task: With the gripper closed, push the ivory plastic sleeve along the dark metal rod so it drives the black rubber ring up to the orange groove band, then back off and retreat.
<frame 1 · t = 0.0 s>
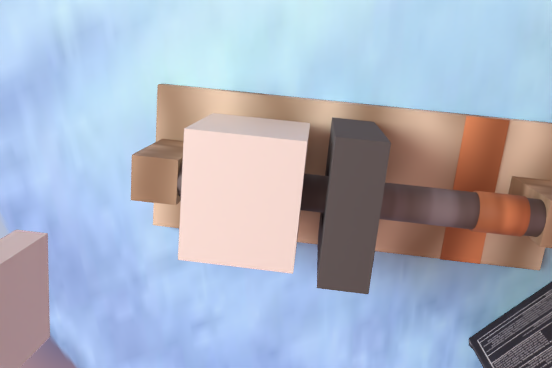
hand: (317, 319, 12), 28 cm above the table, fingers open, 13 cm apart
sleeve: (249, 185, 34), point 6 cm above the table, slide at 0.0 cm
ring: (348, 196, 33), point 6 cm above the table, slide at 0.0 cm
rail: (350, 175, 39), on the table
small box: (542, 328, 41), on the table
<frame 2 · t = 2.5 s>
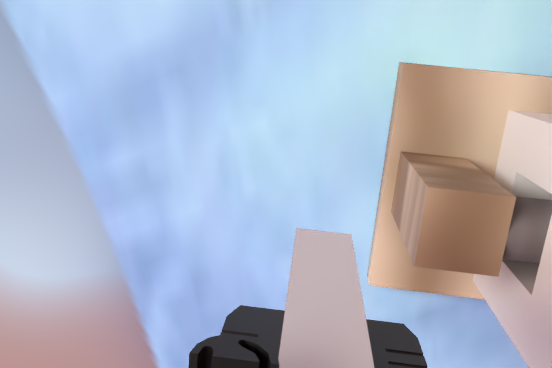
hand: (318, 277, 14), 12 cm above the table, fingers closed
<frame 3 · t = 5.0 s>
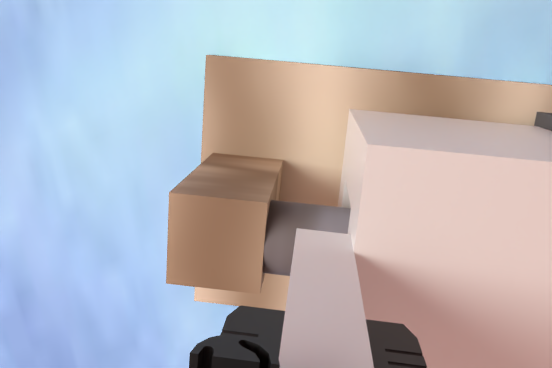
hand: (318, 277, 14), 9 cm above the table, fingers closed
sleeve: (450, 256, 16), point 6 cm above the table, slide at 1.4 cm, touching gripper
rail: (543, 213, 22), on the table
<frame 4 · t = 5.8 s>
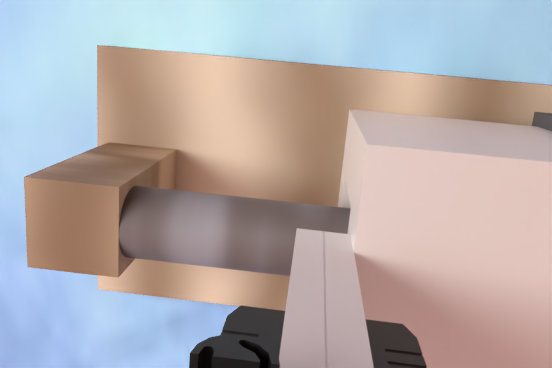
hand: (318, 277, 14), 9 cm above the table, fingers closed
sleeve: (449, 256, 16), point 7 cm above the table, slide at 6.0 cm, touching gripper, ring
rail: (437, 203, 23), on the table
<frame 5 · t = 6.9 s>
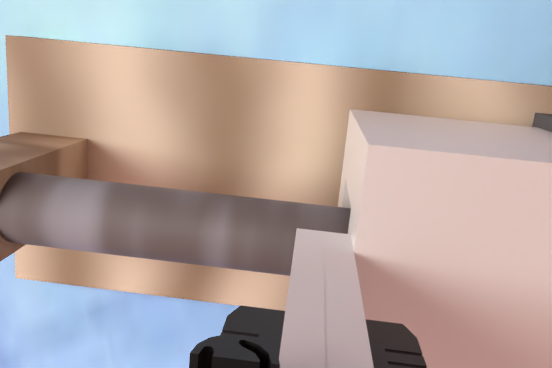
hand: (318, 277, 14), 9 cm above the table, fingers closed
sleeve: (449, 256, 16), point 6 cm above the table, slide at 9.9 cm, touching gripper, ring
rail: (348, 193, 23), on the table
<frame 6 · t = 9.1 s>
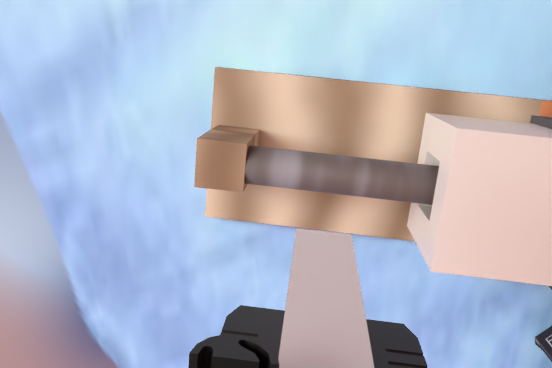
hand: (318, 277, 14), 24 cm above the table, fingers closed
sleeve: (486, 191, 31), point 7 cm above the table, slide at 10.1 cm, touching ring
rail: (414, 164, 37), on the table
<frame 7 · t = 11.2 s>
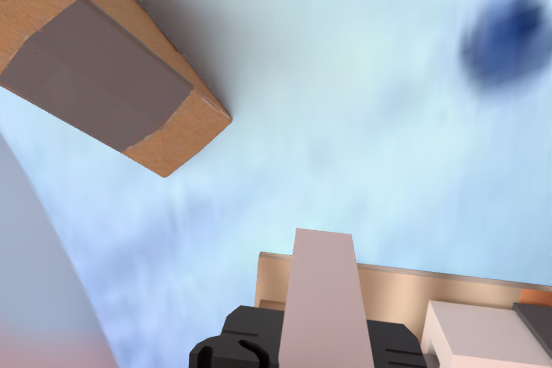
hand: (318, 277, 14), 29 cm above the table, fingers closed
rail: (419, 328, 46), on the table
sandwich container: (141, 82, 43), on the table
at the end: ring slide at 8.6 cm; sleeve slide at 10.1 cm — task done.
